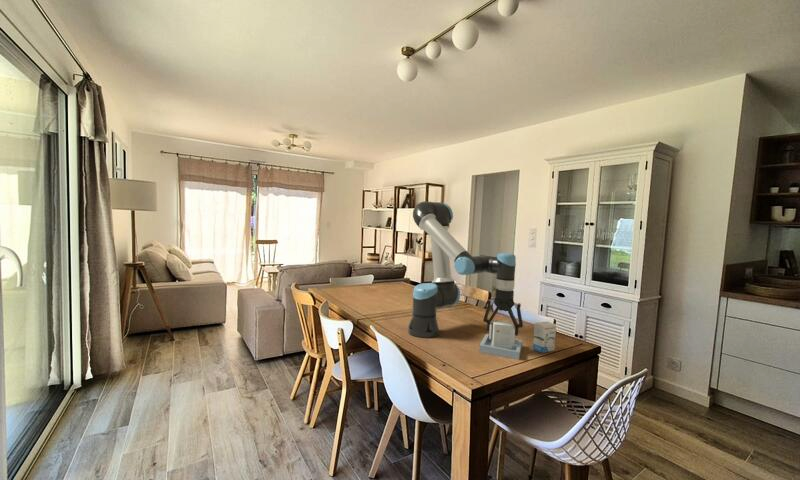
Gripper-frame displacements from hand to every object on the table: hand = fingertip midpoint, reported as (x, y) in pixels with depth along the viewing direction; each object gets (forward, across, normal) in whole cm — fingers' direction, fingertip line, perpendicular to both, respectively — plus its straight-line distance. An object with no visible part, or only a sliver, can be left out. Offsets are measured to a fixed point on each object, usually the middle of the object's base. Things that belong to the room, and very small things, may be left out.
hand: (501, 340), depth 147 cm
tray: (+4, 0, 0) cm, 4 cm away
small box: (+3, 0, 0) cm, 3 cm away
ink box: (+4, +17, +9) cm, 20 cm away
